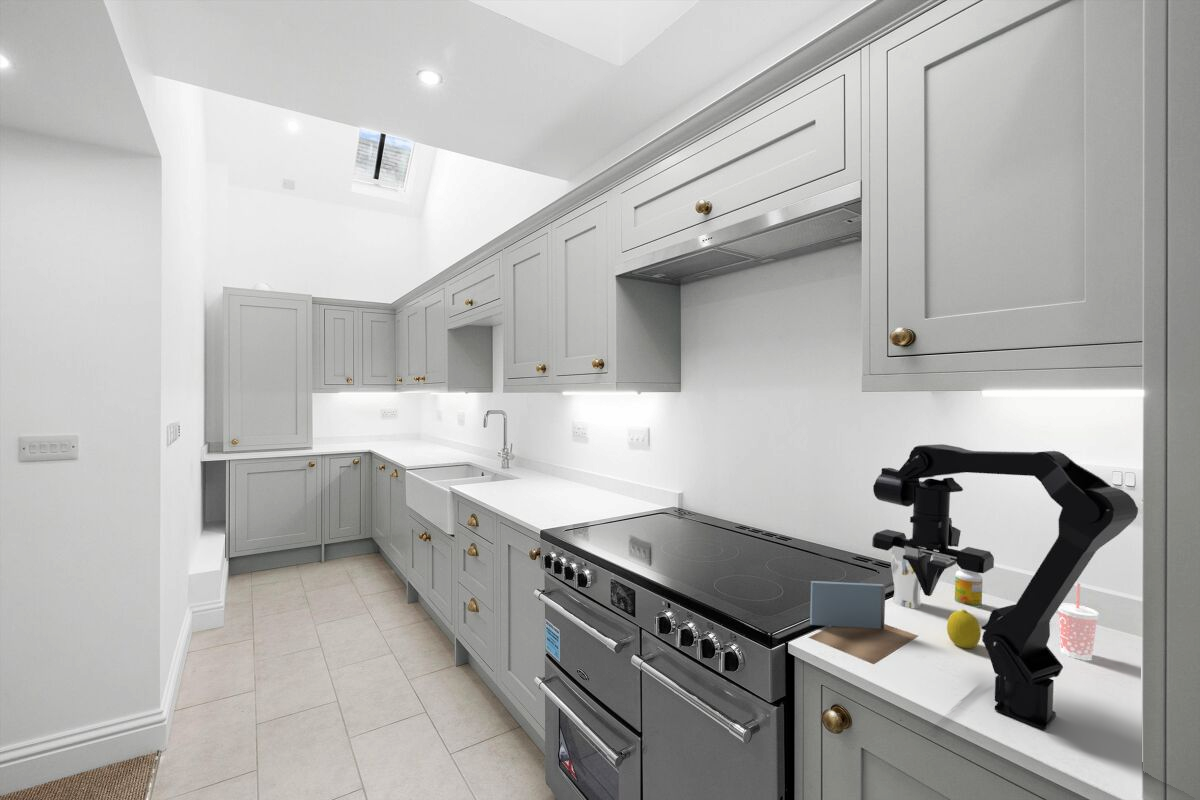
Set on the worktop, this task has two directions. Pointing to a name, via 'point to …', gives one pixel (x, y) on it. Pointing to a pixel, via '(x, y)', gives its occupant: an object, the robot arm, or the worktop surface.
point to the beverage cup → (1077, 628)
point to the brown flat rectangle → (864, 641)
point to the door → (847, 604)
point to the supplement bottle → (968, 588)
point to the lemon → (963, 629)
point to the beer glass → (904, 580)
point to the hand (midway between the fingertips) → (928, 595)
